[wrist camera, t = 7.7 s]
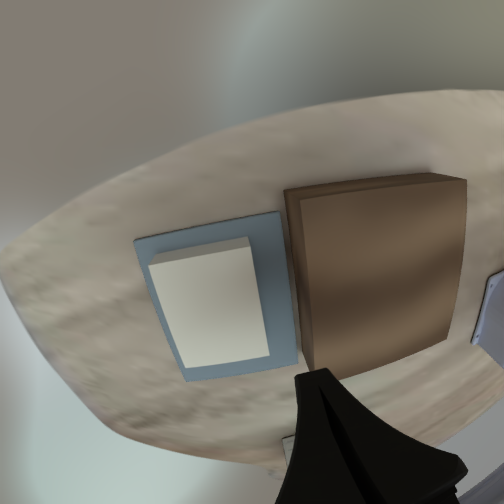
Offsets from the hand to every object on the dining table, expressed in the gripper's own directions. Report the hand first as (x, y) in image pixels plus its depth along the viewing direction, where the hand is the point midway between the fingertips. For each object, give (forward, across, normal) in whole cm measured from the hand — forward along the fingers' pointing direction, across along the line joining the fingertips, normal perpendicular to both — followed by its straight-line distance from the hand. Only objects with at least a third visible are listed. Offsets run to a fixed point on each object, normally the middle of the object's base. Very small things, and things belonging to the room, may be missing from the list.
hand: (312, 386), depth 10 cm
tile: (+7, +4, 0) cm, 8 cm away
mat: (+9, +4, +1) cm, 10 cm away
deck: (+9, -7, 0) cm, 12 cm away
